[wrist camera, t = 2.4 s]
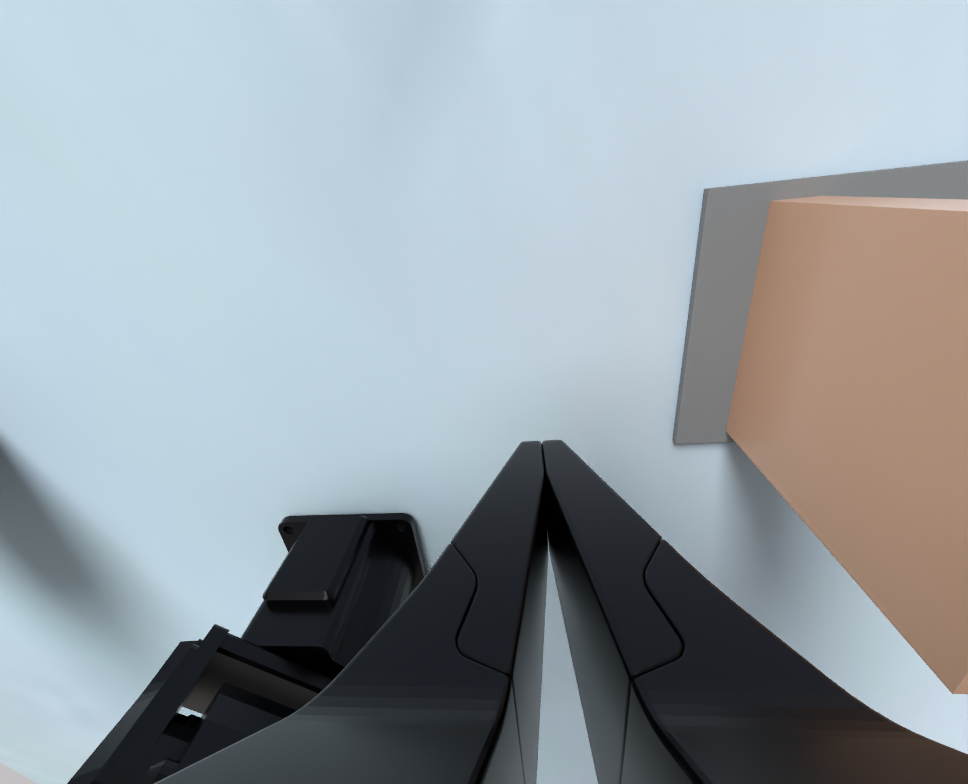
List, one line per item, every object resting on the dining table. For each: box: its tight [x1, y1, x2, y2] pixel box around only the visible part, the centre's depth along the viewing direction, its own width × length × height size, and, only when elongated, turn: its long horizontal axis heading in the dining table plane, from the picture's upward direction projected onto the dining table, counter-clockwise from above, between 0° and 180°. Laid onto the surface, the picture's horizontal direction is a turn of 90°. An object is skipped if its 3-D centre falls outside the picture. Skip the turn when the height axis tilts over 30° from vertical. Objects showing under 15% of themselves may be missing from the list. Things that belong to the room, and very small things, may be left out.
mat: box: [673, 161, 968, 444], centre depth 13 cm, size 9×13×1 cm
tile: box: [726, 196, 968, 694], centre depth 10 cm, size 8×2×9 cm, turn 6°
